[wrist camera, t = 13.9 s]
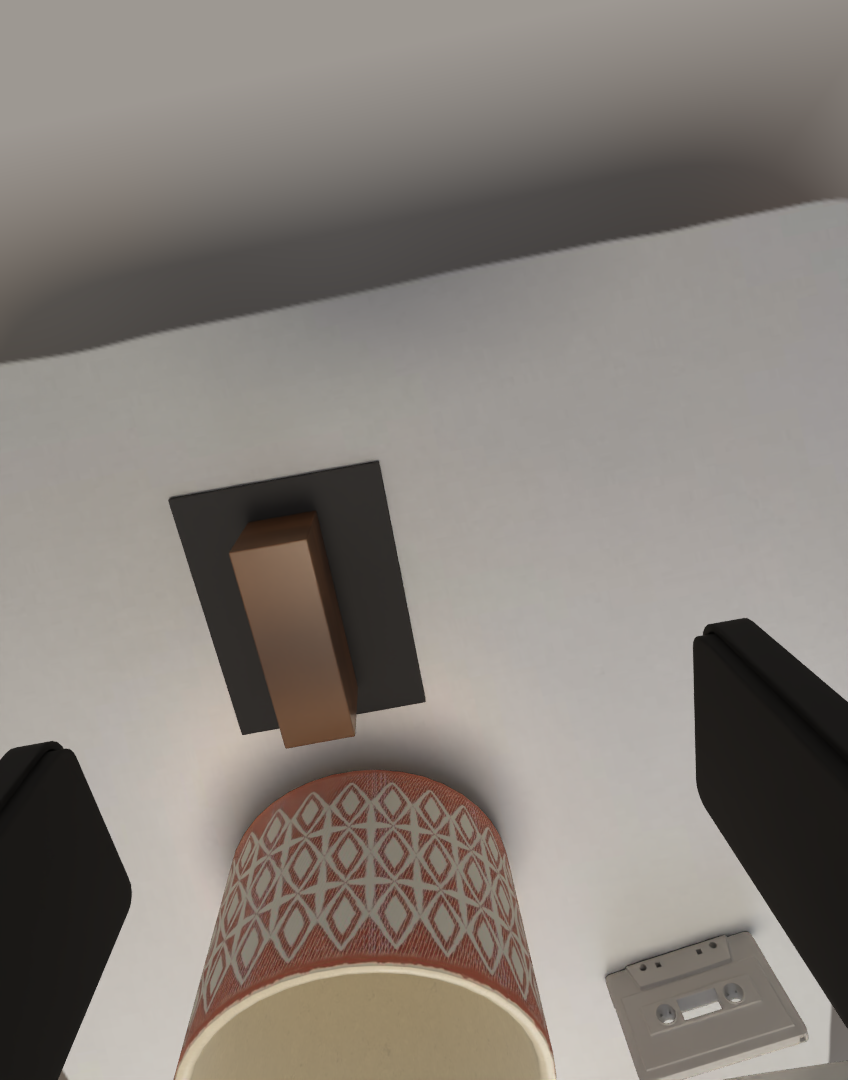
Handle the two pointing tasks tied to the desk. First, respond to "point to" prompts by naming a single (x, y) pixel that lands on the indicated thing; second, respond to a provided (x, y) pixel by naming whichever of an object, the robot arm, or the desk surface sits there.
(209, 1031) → the planter
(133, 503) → the desk surface
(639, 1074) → the cassette
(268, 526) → the bar
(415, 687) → the black mat
